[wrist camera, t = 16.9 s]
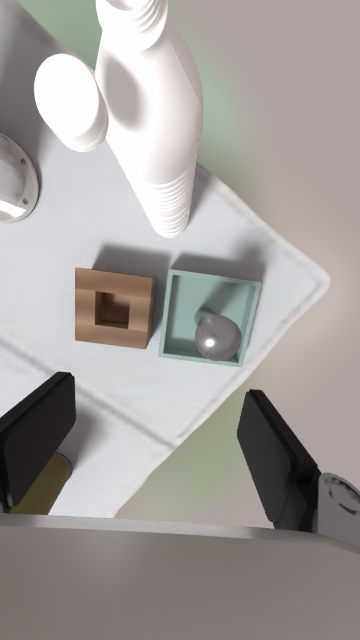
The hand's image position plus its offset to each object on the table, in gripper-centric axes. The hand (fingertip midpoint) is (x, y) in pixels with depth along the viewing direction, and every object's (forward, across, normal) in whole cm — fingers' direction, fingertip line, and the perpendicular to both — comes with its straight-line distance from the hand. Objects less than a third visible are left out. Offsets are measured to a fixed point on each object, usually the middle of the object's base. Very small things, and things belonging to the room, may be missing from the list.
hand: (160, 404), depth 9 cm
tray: (+25, -6, 0) cm, 26 cm away
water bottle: (+26, +3, -15) cm, 30 cm away
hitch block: (+25, +10, 0) cm, 27 cm away
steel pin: (+24, -6, 0) cm, 25 cm away
